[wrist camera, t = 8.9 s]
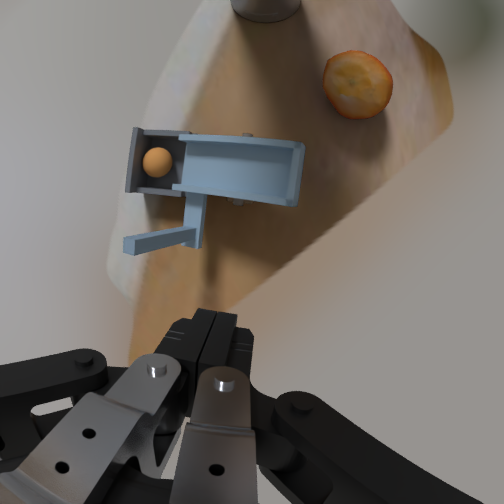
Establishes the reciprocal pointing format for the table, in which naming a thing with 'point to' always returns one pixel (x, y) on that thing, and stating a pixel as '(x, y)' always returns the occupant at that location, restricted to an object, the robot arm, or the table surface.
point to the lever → (227, 182)
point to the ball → (157, 162)
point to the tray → (139, 147)
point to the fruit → (357, 84)
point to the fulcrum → (236, 200)
